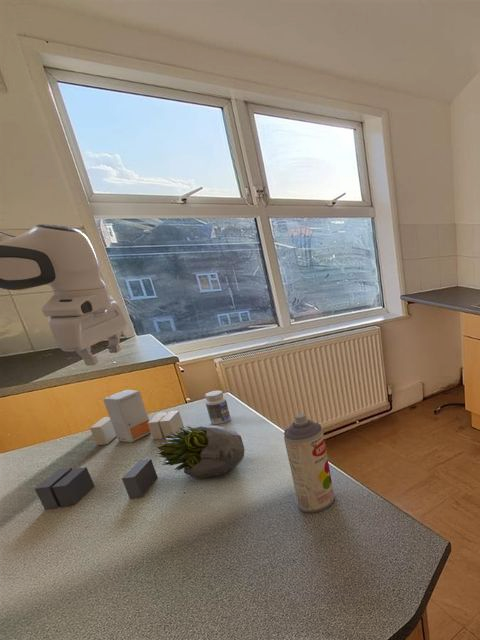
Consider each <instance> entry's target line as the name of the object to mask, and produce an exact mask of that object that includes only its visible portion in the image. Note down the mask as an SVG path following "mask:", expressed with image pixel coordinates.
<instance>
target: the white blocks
mask: <svg viewBox="0 0 480 640" xmlns="http://www.w3.org/2000/svg"><path fill="white" fill-rule="evenodd" d="M147 424H148V427H149V430H150V432H151V433H150V436H151V438H152V440H153V441H154V440H155V441H156V440H163V439H168V438H167V437H166V436H168V435H170V436H171V435H173V434H177V433H176V432H178V431H182V430H181V429H180V428H182V429H184V428H185V425H184V423H183V419H182V415H181V413H180V410H171V411H163V412H162V411H161V412H157V413H156V414H155V415H154V416H153V417H152V418H151V419H149V422H148V423H147ZM179 427H180V428H179ZM89 429H90V432H91V434H92V438H93V439H94V442H95V444H96V446H104V445H108V444H109V443H111V441H113V440H114V439H115V438H117V436H116V433H115V431H114V428H113V425H112V422H111V420H110V417H109V416H104V417H102V418H100V419H99V420H98V421H96V422H95V423H94V424H92V425H91V426H90V427H89ZM171 433H173V434H171ZM177 435H178V434H177Z"/></svg>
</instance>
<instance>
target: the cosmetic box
mask: <svg viewBox="0 0 480 640" xmlns="http://www.w3.org/2000/svg"><path fill="white" fill-rule="evenodd" d="M102 399H103V400H102V401H103V403H104V405H105V409H106V411H107V414H108V417H110V420H111V422H112V425H113V428H114V431H115V433H116V438H117V441H118V442H126V443H133V442H135V441H137V440H139V439H141V438H143V437H145V436H146V435H149V434H151V432H150V430H149V427H148V424H147V423H148V422H149V421H150V419H149V416H148V412H147V409H146V406H145V403H144V399H143V397H142V394H141V391H140V390H133V389H123V390H122V391H119V392H116V393H113V394H112V395H109V396H107V397H104V398H102Z"/></svg>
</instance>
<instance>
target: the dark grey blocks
mask: <svg viewBox="0 0 480 640" xmlns="http://www.w3.org/2000/svg"><path fill="white" fill-rule="evenodd" d="M158 477H159V476H158V474H157V471H156V469H155V465H154V462H153V461H152V458H146V459H139V460H138V461H137V462H136V463H135V464H134V465H133V466H132V467H131V468H130V469H129V470H128V471H127V472H126V473H125V474H124V475H123V477H122V478H121V480H122V483H123V485H124V488H125V490H126V493H127V496H128V498H129V499H136V498H137V499H138V498H143V496H144V495H145V494H146V493H147V492H148V491H149V490H150V488H151V487H152V486H153V485H154V483H155V482H156V481H157V480H158V479H159V478H158ZM94 487H95V483H94V481H93V479H92V476H91V474H90V472H89V469H88V467H87V466H84V467H75V468H72V467H64V468H58V469H57V470H55V471H54V472H53V473H52V474H51V475H50V476H48V477H47V478H46V479H44V480H43V481H42V482H41V483H40V484H38V485H37V486H36V487H35V488H34V490H35V491H34V492H35V493H36V494H37V495H36V496H37V497H38V498H39V501H40V502H41V505H42V507H43V509H44V510H52V509H58V508H59V507H61V508H64V507H71V506H75V505H76V504H78V502H80V500H81V499H83V498H84V497H85V496H86V494H88V493H89V492H90V491H91V490H92V489H93V488H94Z"/></svg>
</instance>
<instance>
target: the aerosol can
mask: <svg viewBox="0 0 480 640" xmlns="http://www.w3.org/2000/svg"><path fill="white" fill-rule="evenodd" d="M294 419H295V420H294V421H293V422H292V423H291V424H290V425H289V427H286V429H285V430H284V432H283V440H284V445H285V449H286V454H287V459H288V462H289V468H290V472H291V478H292V482H293V486H294V487H293V488H294V492H295V496H296V500H297V505H298V509H299V510H300V511H301V512H302V513H305V514H316V513H321V512H322V511H325V510H327V509H329V508H330V507H332V505H333V504H334V502H335V499H336V498H335V493H334V488H333V487H334V486H333V482H332V481H333V480H332V474H331V469H330V464H329V457H328V453H327V452H328V451H327V446H326V440H325V435H324V430H323V429H322V425H321V424H320V423H318V422H315V421H313V420H311V419H309V418H307V417H306V414H305V413H298V414H296V415H295V416H294Z"/></svg>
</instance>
